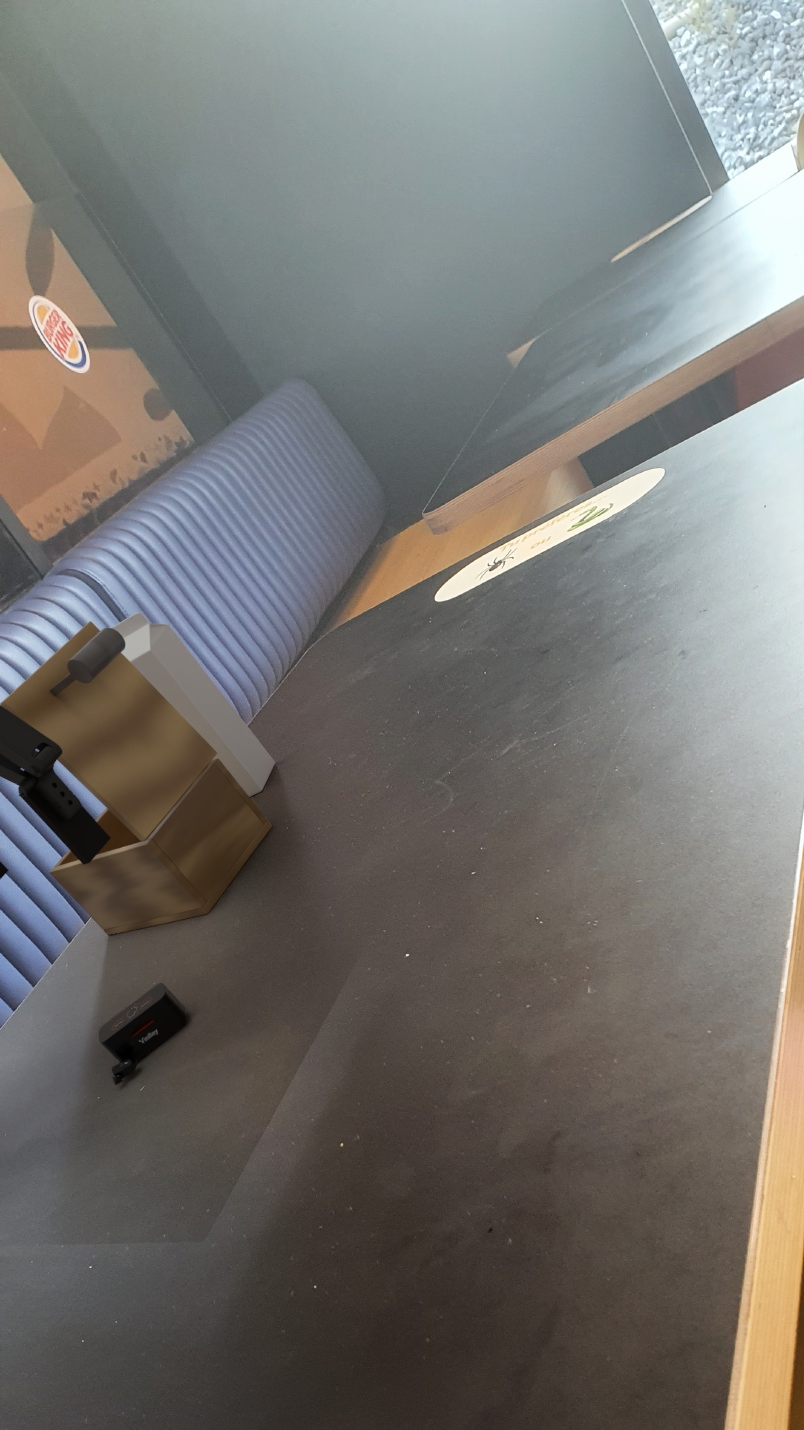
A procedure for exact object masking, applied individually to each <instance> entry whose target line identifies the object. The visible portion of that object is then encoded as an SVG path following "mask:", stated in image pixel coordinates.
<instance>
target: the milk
mask: <svg viewBox="0 0 804 1430" xmlns="http://www.w3.org/2000/svg"><path fill="white" fill-rule="evenodd" d="M111 628H113V629H115V630H116V631H118V632H119V633H120V634H121V635H122V637H123V638H124V640H125V649H124V650H123V651H122V652H121V653H122V654H123V655H124V656H125V657H126V658H127V659H128V660H129V661H130V662H131V663H132V664H133V665H134V666H135V668H136V669H137V670H138V671H139V672H140V673H141V674H142V675H143V676H144V677H145V678H146V679H147V680H148V681H149V682H150V683H151V684H152V685H153V686H154V687H155V688H156V689H157V690H158V691H159V693H160V694H161V695H162V696H163V697H164V698H165V699H166V700H167V701H168V702H169V703H170V704H171V705H172V706H173V707H174V708H175V709H176V710H177V711H178V712H179V713H180V714H181V715H182V716H183V718H184V719H185V720H186V721H187V722H188V723H189V724H190V725H191V726H192V727H193V728H194V729H195V730H196V731H197V732H198V733H199V734H200V735H201V736H202V737H203V738H204V739H205V740H206V741H207V743H208V744H209V745H210V746H211V747H212V748H213V749H214V750H215V751H216V752H217V754H216V756H215V757H214V758H213V759H212V760H215V759H219V760H220V761H221V762H222V763H223V765H224V766H225V767H226V768H227V770H228V771H229V772H230V773H231V775H232V776H233V777H234V778H235V780H236V781H237V782H238V783H239V785H240V786H241V787H242V788H243V790H244V791H245V792H246V793H247V795H248V796H249V797H250V798H251V797H253V796H254V795H257V794H259V793H261V792H262V791H263V790H264V788H265V785H266V784H267V782H268V779H269V777H270V776H271V773H272V771H273V769H274V767H275V765H276V761H275V760H274V758H273V757H272V756H271V755H270V753H269V752H268V751H267V750H266V748H265V746H264V745H262V743H261V741H260V740H259V739H258V738H257V737H256V735H255V734H254V732H253V731H252V730H251V728H249V726H248V725H247V724H246V722H245V721H244V720H243V718H242V717H241V716H240V714H239V713H238V712H237V710H236V709H235V708H234V707H233V706H232V704H231V703H230V702H229V700H228V699H227V698H226V696H225V695H224V694H223V692H221V689H220V688H219V687H218V686H217V685H216V683H215V682H214V681H213V679H212V678H211V677H210V675H209V674H208V672H206V671H205V669H204V668H203V667H202V665H201V664H200V663H199V662H198V660H197V658H196V657H195V656H194V655H193V654H192V652H191V651H190V650H189V649H188V647H187V646H186V645H185V643H184V642H183V641H182V640H181V638H180V637H179V635H178V634H177V633H176V631H175V630H174V629H173V628H172V626H171V625H170V624H165V623H156V622H155V623H153V622H149V620H148V619H147V618H146V617H145V615H144V614H143V613H142V612H140V611H137V612H135V613H133V614H132V615H130V616H129V617H127V618H125V619H124V620H121V621H120V622H118V623H117V624H114V625H113V626H112V627H111ZM212 760H211V761H212Z"/></svg>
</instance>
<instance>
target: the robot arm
mask: <svg viewBox="0 0 804 1430" xmlns="http://www.w3.org/2000/svg"><path fill="white" fill-rule="evenodd" d="M37 750H38V751H37ZM61 754H62V749H61V747H60V746H59V745H58V744H57V743H55V742H54V741H52V740H51V739H49V738H48V737H46V736H45V735H43V734H42V733H40V732H39V731H38V730H36V729H35V728H33V727H32V726H30V725H29V724H27V723H26V722H24V721H23V720H21V719H20V718H18V717H17V716H15V715H14V714H13V713H11V712H10V711H8V710H7V709H5V708H4V707H2V706H1V705H0V778H1V779H4V780H6V781H8V782H10V783H13V784H15V785H17V786H18V787H17V790H18V797H20V798H21V799H22V800H23V801H24V802H25V803H26V804H27V805H28V806H29V807H30V809H32V811H33V812H34V813H35V814H36V815H37V816H38V817H39V818H40V820H42V822H43V823H44V824H45V825H46V826H47V827H48V828H49V829H50V831H52V832H53V834H54V835H55V836H56V837H57V839H59V840H60V841H61V842H62V843H63V845H65V846H66V848H67V849H68V850H70V851H71V852H72V853H73V854H74V855H75V856H76V857H77V858H78V859H79V860H80V862H81V863H82V864H83V865H84V864H87V863H90V862H91V861H92V859H93V858H94V857H95V856H96V855H97V854H98V853H99V851H100V850H101V849H102V848H103V847H104V846H105V844H106V843H107V842H108V841H109V840H110V839H111V838H110V836H109V835H108V834H107V833H106V832H105V831H104V830H103V829H102V827H101V826H100V825H99V824H98V823H97V822H96V821H95V820H96V819H94V817H93V816H92V815H91V814H90V813H89V812H88V811H87V809H86V808H85V807H84V806H83V804H82V802H81V801H80V799H79V798H78V797H77V796H76V794H74V793H73V791H72V789H70V788H69V787H68V786H67V784H66V783H64V781H63V780H62V779H61V777H59V775H58V774H57V773H56V772H55V770H54V767H55V764H56V762H57V761H58V760H57V759H58V758H59V757H60V756H61ZM8 872H9V868H7V867H6V865H4V863H2V862H1V861H0V880H1V879H2V878H3V877H4V876H5V875H6V874H7V873H8Z"/></svg>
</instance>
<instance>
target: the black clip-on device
mask: <svg viewBox="0 0 804 1430" xmlns="http://www.w3.org/2000/svg"><path fill="white" fill-rule="evenodd" d="M188 1019H189V1017H188V1014H187V1010H186V1007H185V1005H184V1004H183V1002H182V1001H181V1000H179V998H178V997H176V995H175V994H174V992H172V991H171V990H170V988H168V987H167V985H166V984H164V982H159V983H157V984H156V985H153V987H151V988H150V989H149V990H147V992H145V993H144V994H142V995H141V996H140V997H138V998H137V999H135V1000H134V1001H133V1002H131V1004H129V1005H127V1006H126V1007H125V1008H124V1009H122V1010H121V1011H120V1012H119V1013H117V1014H116V1015H115V1016H113V1017H112V1018H110V1019H109V1020H107V1022H105V1023H104V1024H102V1025H101V1027H100V1028H99V1030H98V1032H97V1033H98V1042H99V1044H100V1045H101V1046H102V1047H103V1048H105V1050H106V1051H108V1053H110V1054H111V1055H112V1056H113V1057H114V1058H115V1060H117V1063H114V1064H113V1065H112V1066H111V1073H112V1074H113V1076H112V1077H111V1079H112V1082H113V1084H114V1086H117V1085H120V1084H121V1083H123V1081H124V1079H125V1078H127V1077H129V1076H130V1075H131V1074H132V1073H135V1071H136V1069H137V1067H138V1061H139V1060H140V1059H141V1058H142V1057H144V1056H146V1055H147V1054H148V1053H149V1052H151V1051H152V1050H153V1049H155V1048H156V1047H157V1046H159V1045H160V1044H161V1043H162V1042H164V1041H165V1040H167V1039H168V1038H169V1037H170V1036H172V1035H173V1034H174V1033H176V1032H178V1031H179V1030H180V1029H181V1028H182V1027H184V1026H185V1025H186V1024H187V1023H188ZM175 1031H176V1032H175Z"/></svg>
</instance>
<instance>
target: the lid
mask: <svg viewBox="0 0 804 1430" xmlns="http://www.w3.org/2000/svg"><path fill="white" fill-rule="evenodd" d="M124 649H125V640H124V638H123V637H122V635H121V634H120V633H119V632H118V631H116V630H115V629H113V628H112V627H109V626H108V627H104V628H102V629H101V630H100V628H98V627H97V626H96V625H95V624H94V623H93V622H92V620H89V621H88V622H87V623H86V624H85V625H83V627H82V628H80V629H79V630H78V631H77V632H76V633H75V634H73V636H72V637H71V638H69V640H68V641H66V643H64V644H63V645H62V646H61V647H60V648H58V650H57V651H55V652H54V653H53V654H52V655H51V656H50V657H49V658H48V659H47V660H46V661H44V662H43V664H42V665H40V666H39V667H38V668H37V669H36V670H35V671H34V672H33V673H31V674H30V675H29V676H28V677H27V678H26V679H25V680H24V681H23V682H21V684H20V685H18V687H16V688H15V689H14V690H13V691H12V692H11V693H10V694H9V695H8V696H6V698H5V699H3V700H2V701H1V702H0V705H1V706H2V707H4V708H5V709H7V710H8V711H10V712H11V713H13V714H14V715H15V716H17V717H18V718H20V719H21V720H23V721H24V722H26V723H27V724H29V725H30V726H32V727H33V728H35V729H36V730H38V731H39V732H40V733H42V734H43V735H45V736H46V737H48V738H49V739H51V740H52V741H54V742H55V743H57V744H58V745H59V746H60V747H61V749H62V754H61V756H60V757H59V758H58V759H57V760H56V761H57V762H58V763H60V764H61V766H63V768H65V769H66V770H67V771H68V772H69V773H70V774H71V775H72V776H73V777H74V778H75V779H76V780H77V781H78V782H79V783H80V784H81V785H83V786H84V788H85V789H86V790H87V791H88V792H90V793H91V795H93V796H94V797H95V799H97V801H99V802H100V803H101V804H102V805H103V806H104V807H105V809H106V808H107V809H108V810H110V811H111V812H112V813H113V814H114V815H115V816H116V817H117V818H118V819H119V820H120V821H121V822H122V823H123V824H124V825H125V826H126V827H127V828H128V829H129V830H130V831H131V832H132V833H133V834H134V835H135V836H136V837H137V838H138V839H139V840H141V841H143V840H145V839H146V838H147V837H148V836H149V835H150V834H151V832H152V831H153V830H154V829H155V828H156V826H157V825H158V824H159V823H160V822H161V820H162V819H163V818H164V817H165V816H166V814H167V813H168V812H169V811H170V810H171V808H172V807H173V806H174V805H175V804H176V802H177V801H178V800H179V799H180V798H181V796H182V795H183V794H184V793H185V792H186V790H187V789H188V788H189V787H190V786H191V784H192V783H193V782H194V781H195V780H196V778H197V777H198V776H199V775H200V774H201V772H202V771H203V770H204V769H205V768H206V766H207V765H208V764H209V763H210V762H211V760H212V759H213V758H214V757H215V756H216V754H217V752H216V751H215V750H214V749H213V748H212V747H211V746H210V745H209V744H208V743H207V741H206V740H205V739H204V738H203V737H202V736H201V735H200V734H199V733H198V732H197V731H196V730H195V729H194V728H193V727H192V726H191V725H190V724H189V723H188V722H187V721H186V720H185V719H184V718H183V716H182V715H181V714H180V713H179V712H178V711H177V710H176V709H175V708H174V707H173V706H172V705H171V704H170V703H169V702H168V701H167V700H166V699H165V698H164V697H163V696H162V695H161V694H160V693H159V691H158V690H157V689H156V688H155V687H154V686H153V685H152V684H151V683H150V682H149V681H148V680H147V679H146V678H145V677H144V676H143V675H142V674H141V673H140V672H139V671H138V670H137V669H136V668H135V666H134V665H133V664H132V663H131V662H130V661H129V660H128V659H127V658H126V657H125V656H124V655H123V654H122V653H121V652H122V651H123V650H124Z"/></svg>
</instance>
